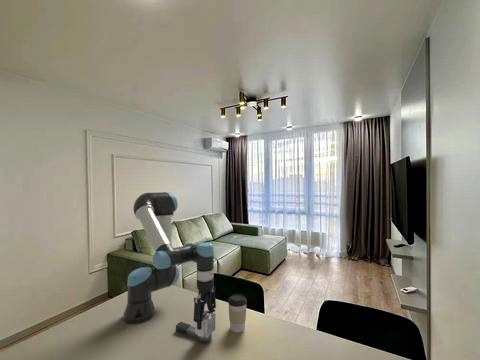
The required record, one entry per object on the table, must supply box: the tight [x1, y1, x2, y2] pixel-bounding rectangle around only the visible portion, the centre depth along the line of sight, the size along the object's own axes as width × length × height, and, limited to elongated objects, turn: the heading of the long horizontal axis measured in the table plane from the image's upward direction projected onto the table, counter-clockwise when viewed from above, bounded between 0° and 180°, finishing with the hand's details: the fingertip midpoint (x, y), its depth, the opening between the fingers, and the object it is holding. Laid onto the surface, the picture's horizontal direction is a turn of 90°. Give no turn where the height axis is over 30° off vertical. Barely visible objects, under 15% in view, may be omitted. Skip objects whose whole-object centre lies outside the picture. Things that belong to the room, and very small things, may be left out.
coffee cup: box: [227, 292, 248, 334], centre depth 109 cm, size 9×9×15 cm
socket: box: [194, 309, 216, 337], centre depth 101 cm, size 6×6×8 cm
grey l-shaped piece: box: [175, 321, 213, 345], centre depth 103 cm, size 18×6×8 cm, turn 64°
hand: (205, 330), depth 101 cm, fingers closed on socket, 6 cm apart
